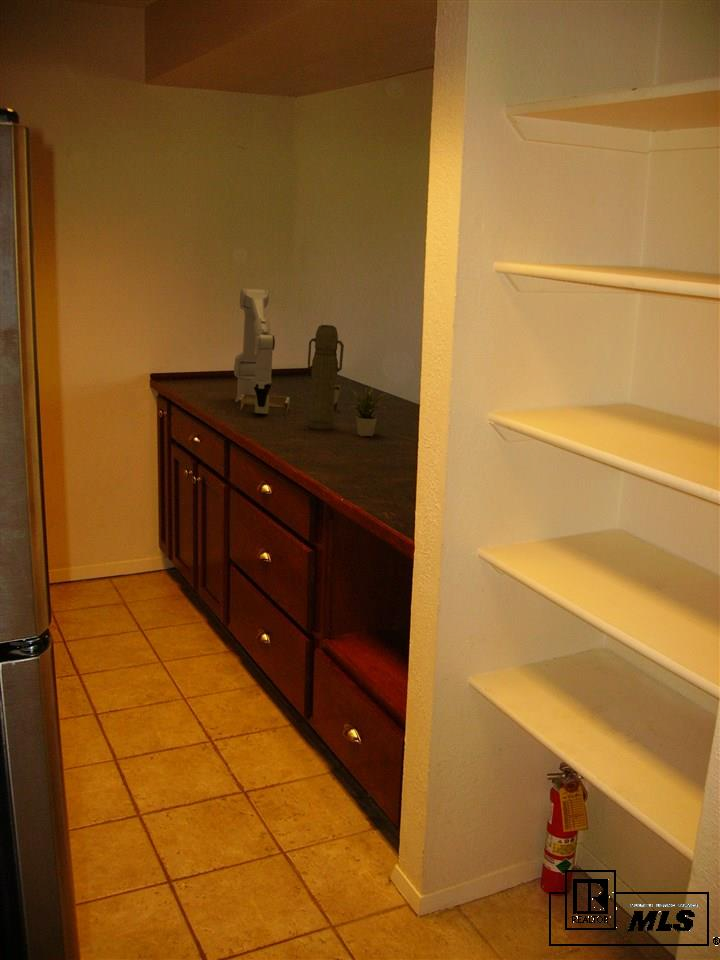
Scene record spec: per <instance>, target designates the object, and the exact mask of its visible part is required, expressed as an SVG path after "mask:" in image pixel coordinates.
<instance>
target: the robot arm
mask: <svg viewBox="0 0 720 960" xmlns="http://www.w3.org/2000/svg"><path fill="white" fill-rule="evenodd" d="M239 294H240V296H239V308H240V309H242V310H243V311H244V323H243V325H244V326H243V339H242V340H243V346H242V352H241V353H239V354H238V355H236V357H235V358H234V359H235V360H234V365H233V374H234V376H235V377H236V378H237V392H236V393H237V394H236V395H237V396H236V398H235V400H234V402H236V403H238V399H239V398H240V397H241V395H242V394H254V395H257V402H258V407H264V406H265V402H266V397H267V395H269V391H270V389H271V387H272V369H273V351H274V350H275V347H276V338H275V334H274V333H273V332H272V330H271V326H270V321H269V320H268V319H267V318H266V312H265V311H266V310H265V308H267V306H268V305H269V300H270V297H269V296H270V295H269V291H268V289H266V288H265V289H262V288H261V289H260V288H245V287H243V288H241V290H240V293H239Z"/></svg>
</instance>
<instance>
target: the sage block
mask: <svg viewBox="0 0 720 960" xmlns="http://www.w3.org/2000/svg"><path fill="white" fill-rule="evenodd" d="M269 396H270V394H268V395H267V397H266V402H265V406H264V407H258V402H257V395H256V398H255V405H254V413H255V414H265V415H266V414H268V413H269V407H270V406H269Z"/></svg>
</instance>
